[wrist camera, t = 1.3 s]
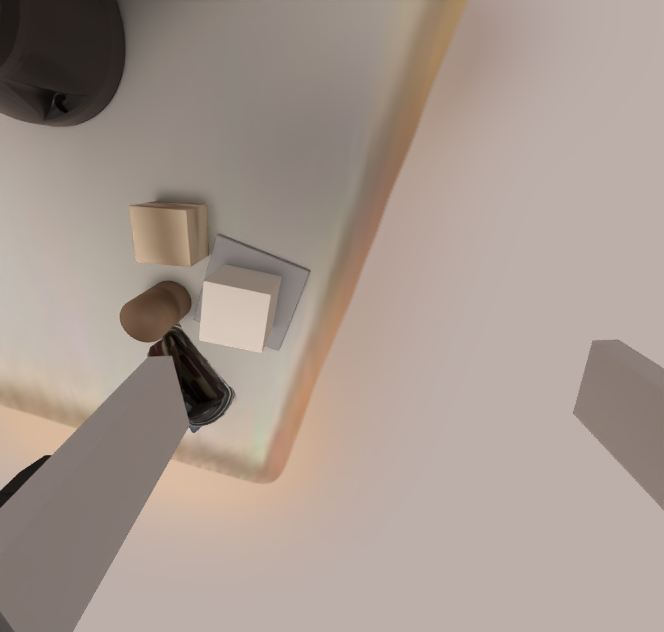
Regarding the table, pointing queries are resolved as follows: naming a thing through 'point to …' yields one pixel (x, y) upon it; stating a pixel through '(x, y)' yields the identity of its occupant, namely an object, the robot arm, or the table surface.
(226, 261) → the mat
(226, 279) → the plain block
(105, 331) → the table surface
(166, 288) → the walnut cylinder
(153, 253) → the beech cube
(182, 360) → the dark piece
